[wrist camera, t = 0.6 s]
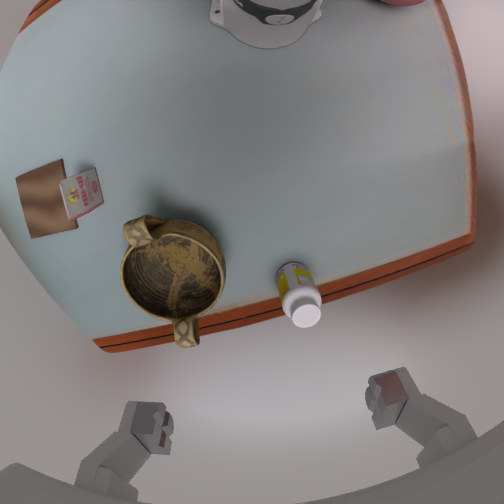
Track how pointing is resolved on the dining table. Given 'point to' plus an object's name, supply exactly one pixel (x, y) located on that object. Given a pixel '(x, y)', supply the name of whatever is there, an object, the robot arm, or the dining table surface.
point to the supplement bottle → (299, 294)
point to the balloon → (403, 2)
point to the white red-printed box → (81, 193)
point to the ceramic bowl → (172, 272)
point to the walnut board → (44, 200)
